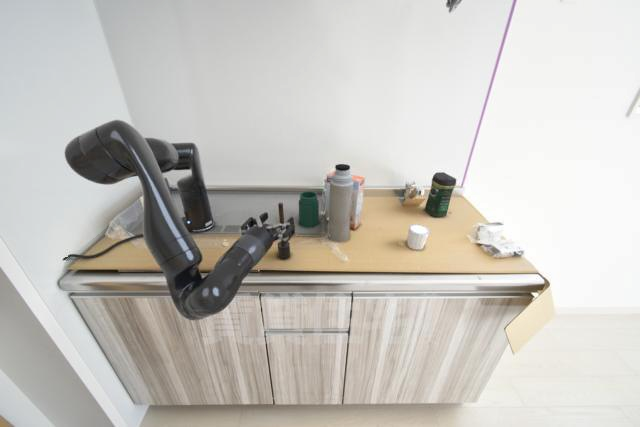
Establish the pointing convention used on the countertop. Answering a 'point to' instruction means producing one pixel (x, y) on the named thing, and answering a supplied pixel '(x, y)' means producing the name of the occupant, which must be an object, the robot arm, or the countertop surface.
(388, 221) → the countertop surface
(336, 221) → the thermos bottle
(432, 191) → the coffee jar
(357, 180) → the cracker box
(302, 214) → the green bottle
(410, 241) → the white ribbed cup
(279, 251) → the bottle brush
